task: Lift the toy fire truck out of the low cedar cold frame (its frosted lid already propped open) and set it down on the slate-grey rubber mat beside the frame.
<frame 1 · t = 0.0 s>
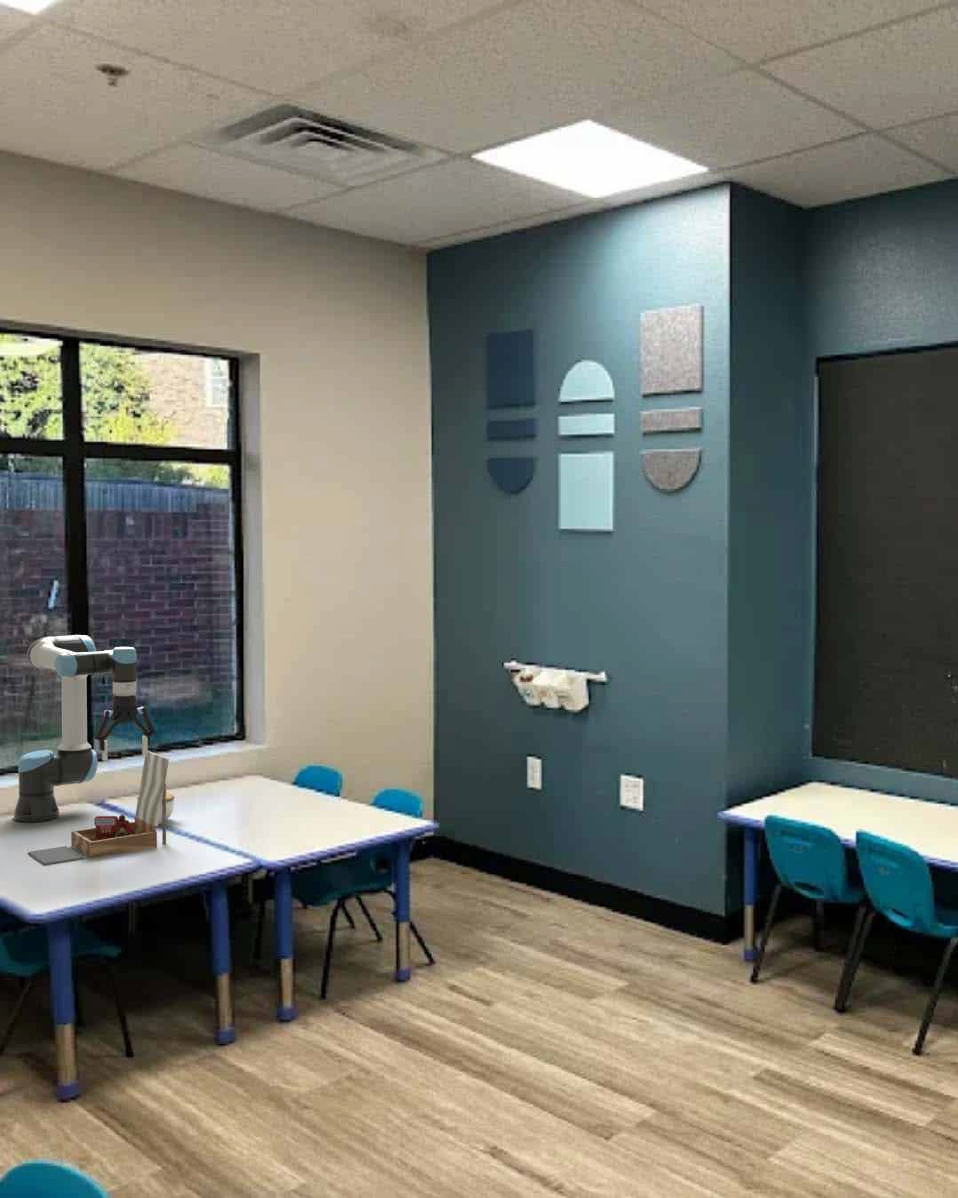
hand: (125, 758, 382), 28 cm above the table, fingers open, 13 cm apart
lidded bowl: (156, 822, 410), on the table
cold frame: (114, 846, 377), on the table
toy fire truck: (114, 847, 377), resting in cold frame
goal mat: (55, 856, 365), on the table
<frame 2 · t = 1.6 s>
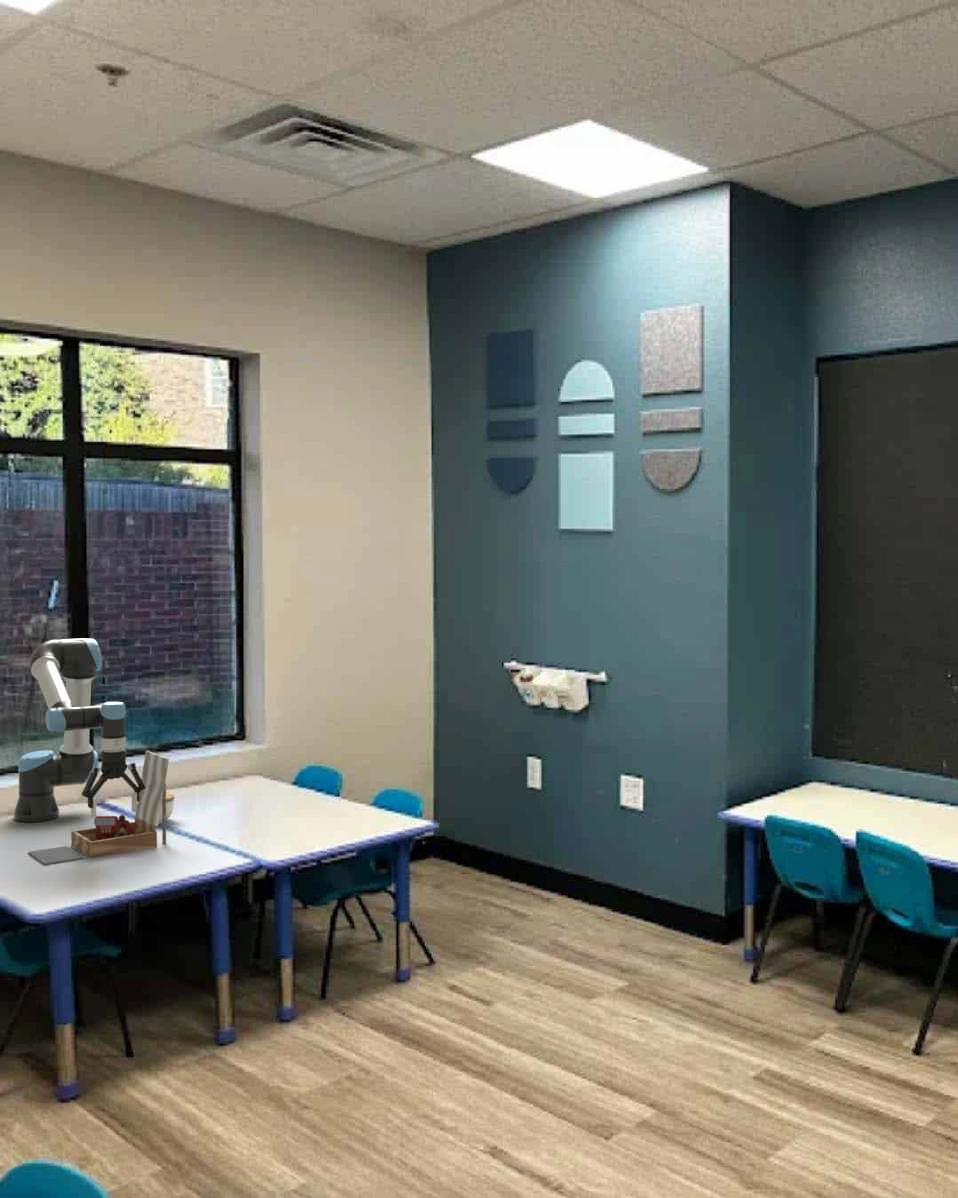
hand: (114, 814, 377), 11 cm above the table, fingers open, 13 cm apart
nothing on the table moved.
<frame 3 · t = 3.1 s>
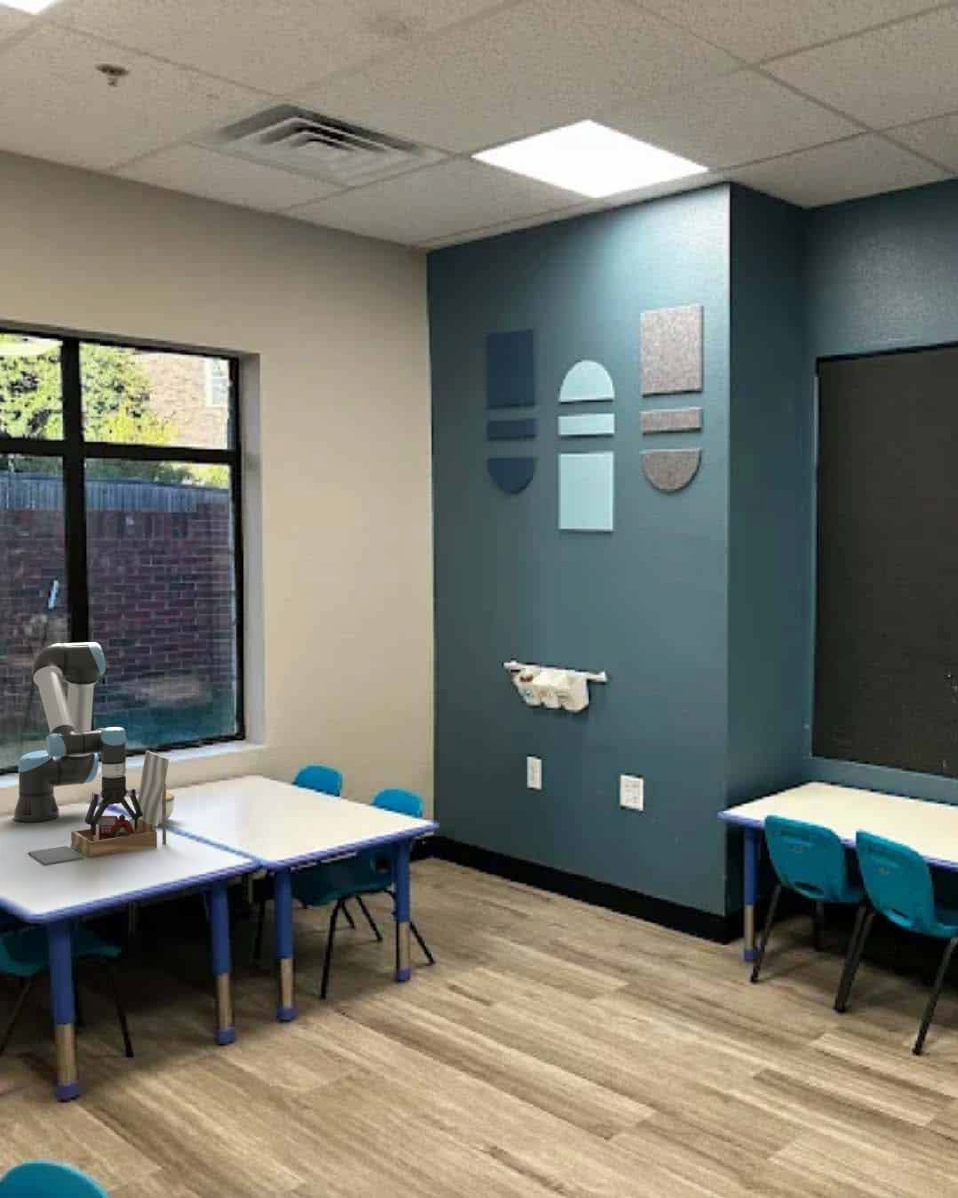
hand: (114, 841, 377), 2 cm above the table, fingers closed on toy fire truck, 11 cm apart
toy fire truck: (114, 847, 377), resting in cold frame, touching gripper
everything else where it was.
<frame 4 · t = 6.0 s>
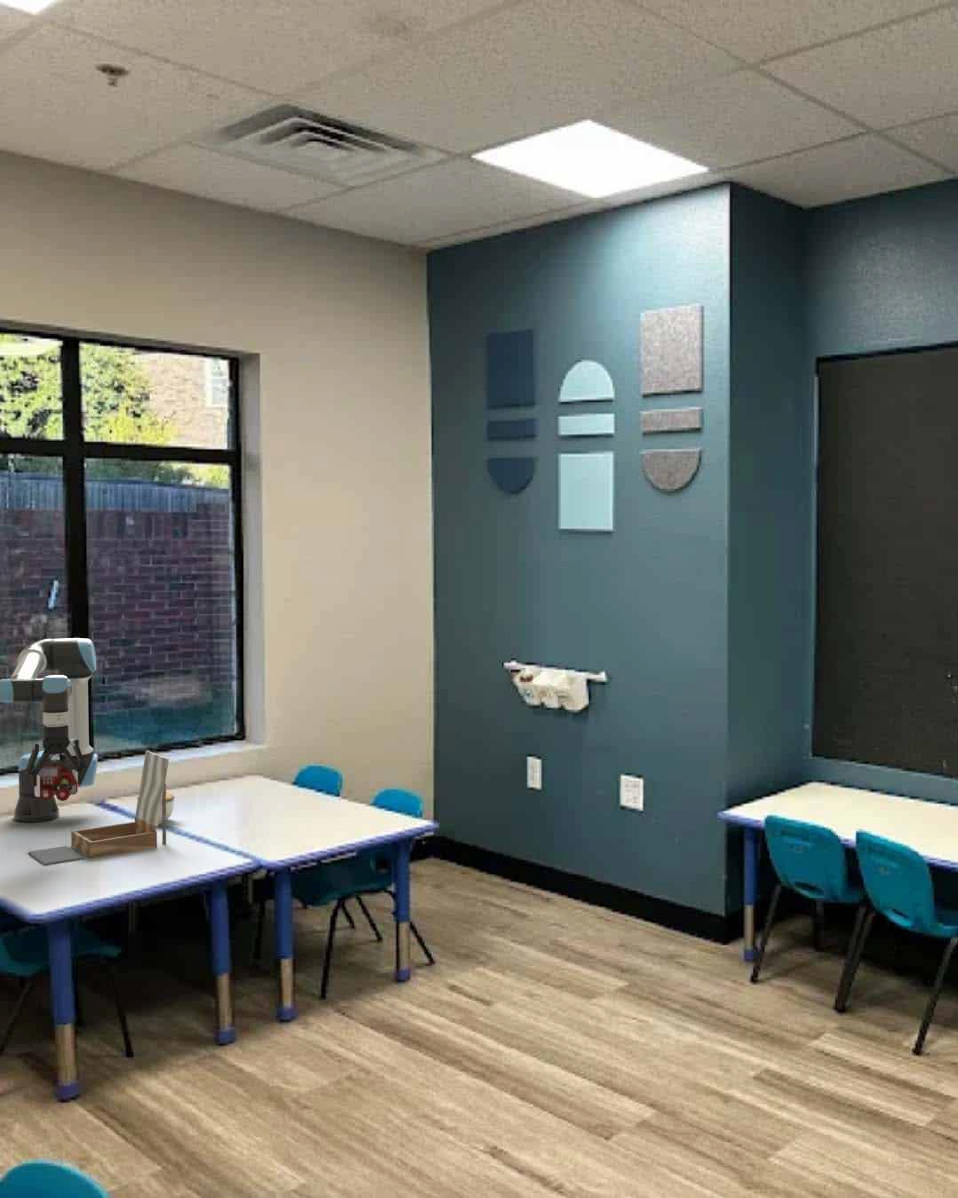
hand: (56, 793, 365), 20 cm above the table, fingers closed on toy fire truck, 11 cm apart
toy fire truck: (56, 799, 365), point 18 cm above the table, touching gripper
everything else where it was.
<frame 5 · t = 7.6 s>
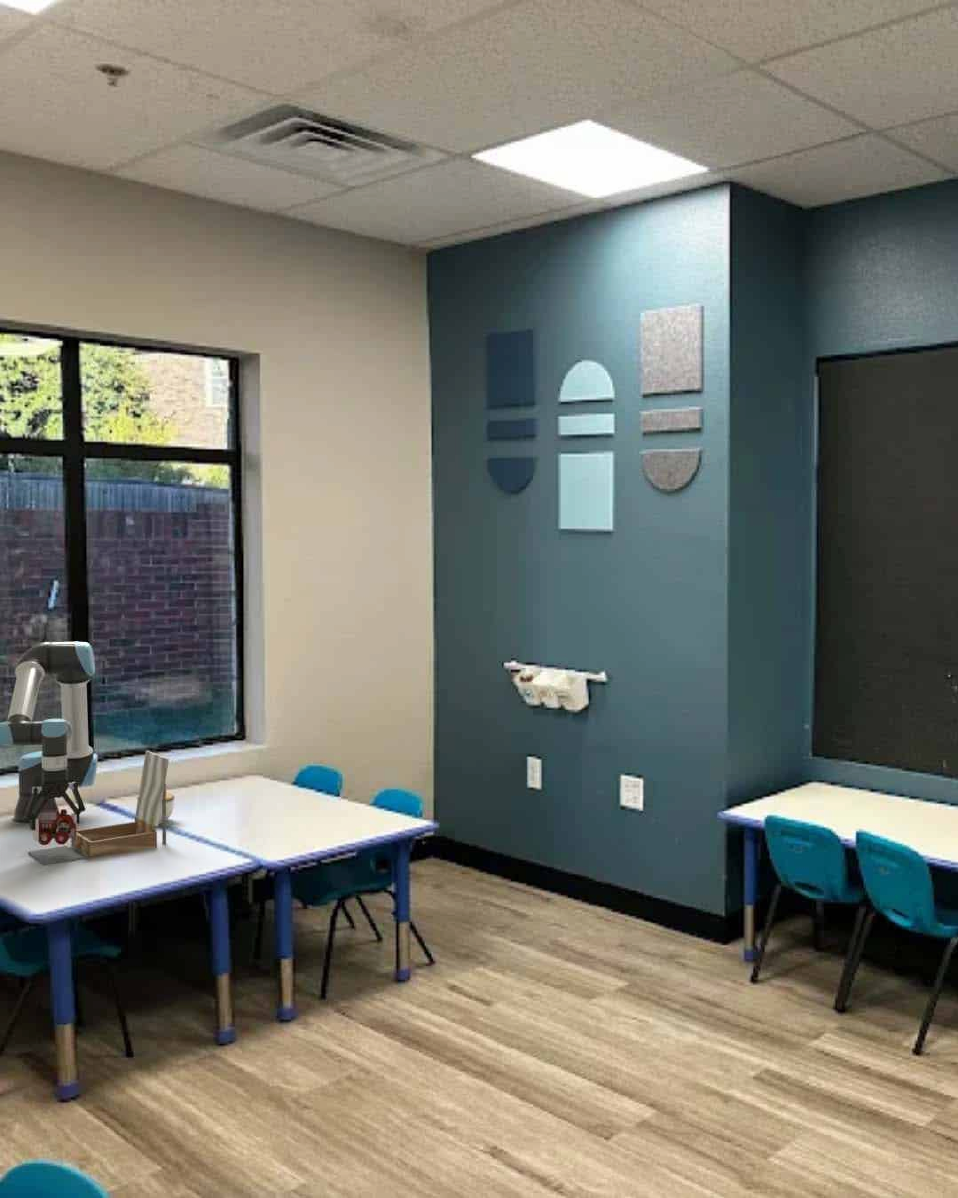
hand: (55, 837, 365), 6 cm above the table, fingers closed on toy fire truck, 11 cm apart
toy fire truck: (55, 843, 365), point 4 cm above the table, touching gripper
everything else where it was.
when the fingers open (4 cm above the table, at t = 9.0 s): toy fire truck drops 1 cm, resting on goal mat.
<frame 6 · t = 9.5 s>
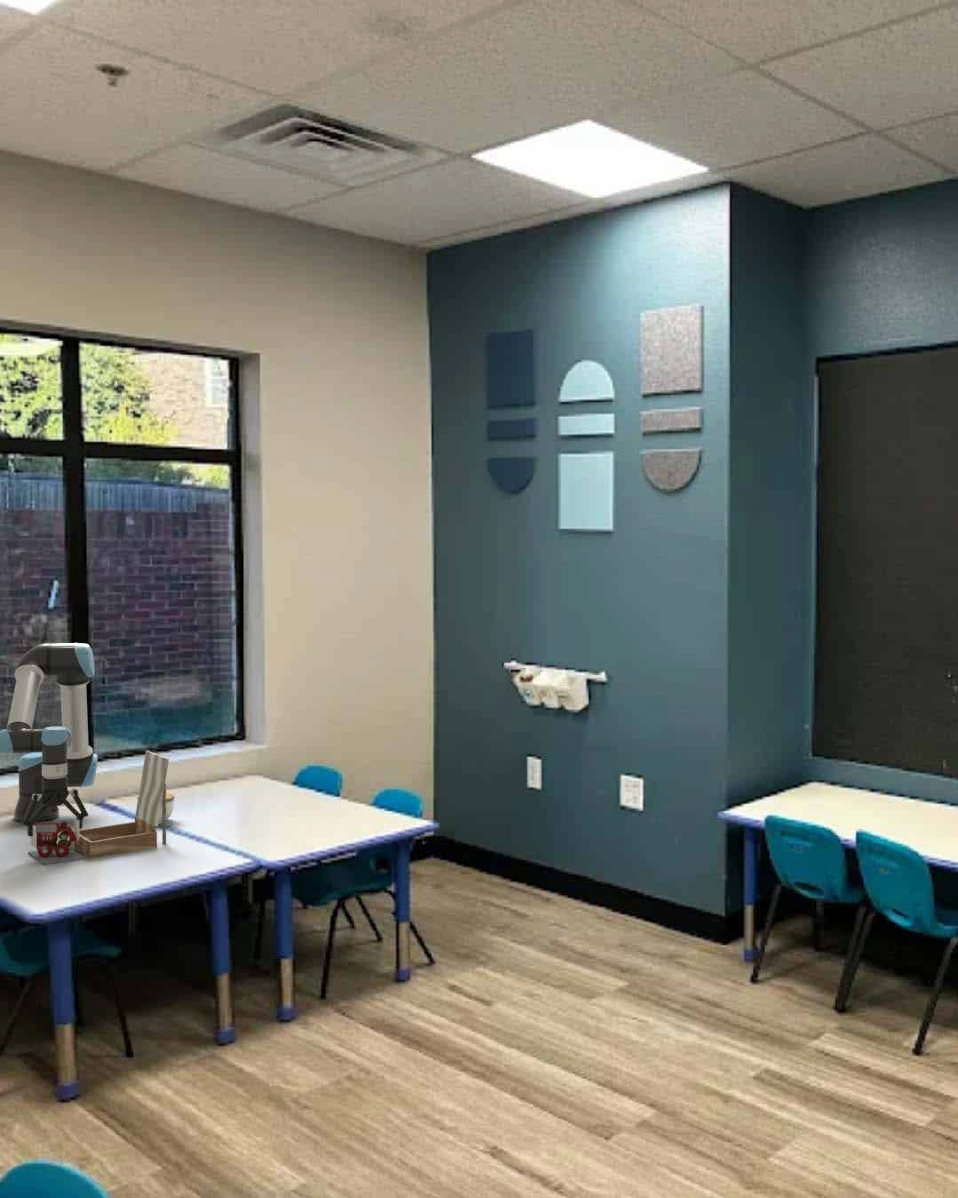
hand: (55, 843, 365), 4 cm above the table, fingers open, 13 cm apart
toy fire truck: (55, 855, 365), resting on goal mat
everything else where it was.
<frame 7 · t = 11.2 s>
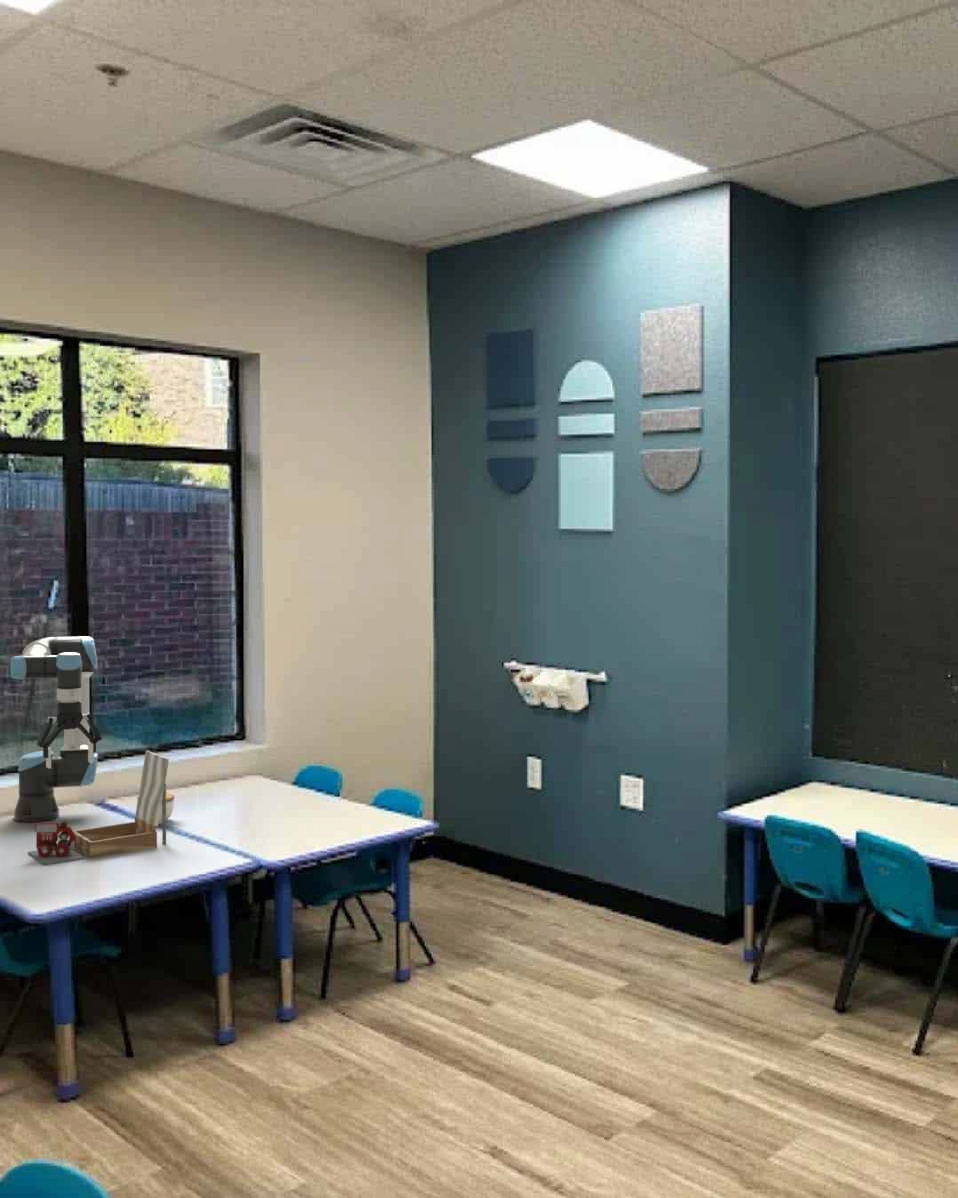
hand: (69, 765, 376), 27 cm above the table, fingers open, 13 cm apart
nothing on the table moved.
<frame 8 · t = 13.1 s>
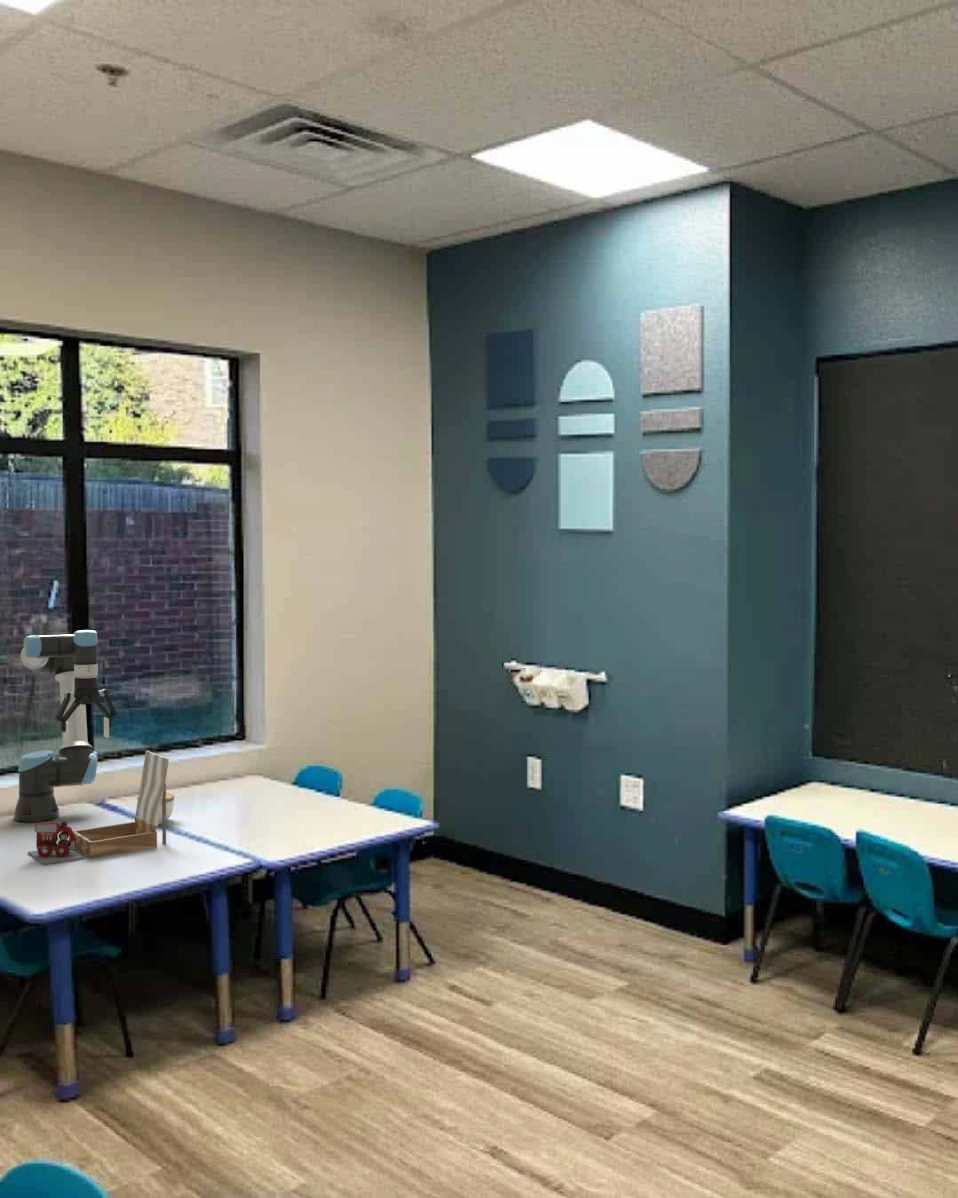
hand: (86, 739, 389), 33 cm above the table, fingers open, 13 cm apart
nothing on the table moved.
at the end: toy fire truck inside the target area on the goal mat (0.1 cm from its centre), point 0.4 cm above the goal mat's base; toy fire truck tilted 0°; the gripper is holding nothing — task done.
